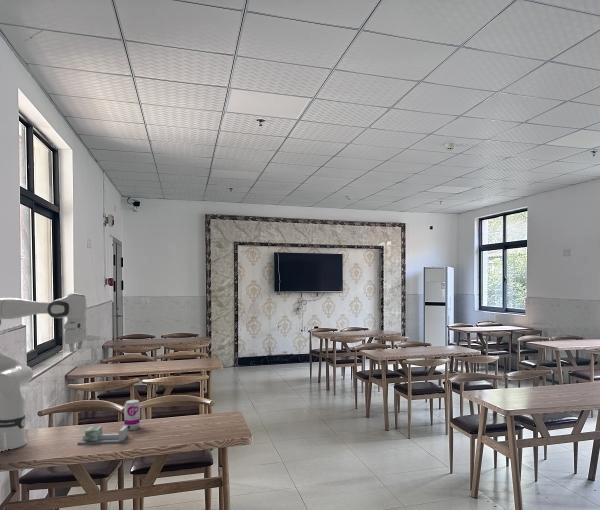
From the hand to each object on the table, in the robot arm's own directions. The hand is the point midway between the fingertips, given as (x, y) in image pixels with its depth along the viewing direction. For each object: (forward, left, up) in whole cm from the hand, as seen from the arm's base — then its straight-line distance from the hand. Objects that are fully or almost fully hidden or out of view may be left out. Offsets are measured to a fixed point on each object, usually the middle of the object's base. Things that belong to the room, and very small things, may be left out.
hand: (75, 350), depth 228 cm
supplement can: (+23, +21, -47) cm, 57 cm away
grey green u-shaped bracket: (+14, +2, -47) cm, 49 cm away
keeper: (+9, +2, -46) cm, 47 cm away
